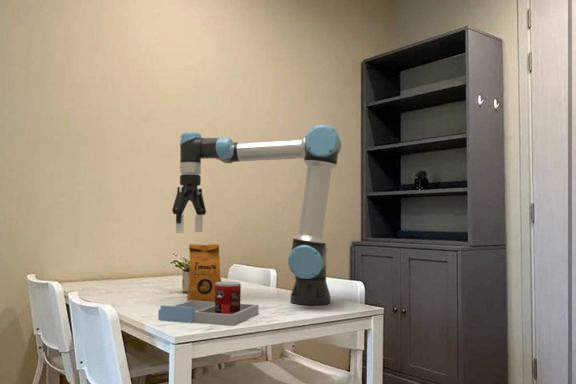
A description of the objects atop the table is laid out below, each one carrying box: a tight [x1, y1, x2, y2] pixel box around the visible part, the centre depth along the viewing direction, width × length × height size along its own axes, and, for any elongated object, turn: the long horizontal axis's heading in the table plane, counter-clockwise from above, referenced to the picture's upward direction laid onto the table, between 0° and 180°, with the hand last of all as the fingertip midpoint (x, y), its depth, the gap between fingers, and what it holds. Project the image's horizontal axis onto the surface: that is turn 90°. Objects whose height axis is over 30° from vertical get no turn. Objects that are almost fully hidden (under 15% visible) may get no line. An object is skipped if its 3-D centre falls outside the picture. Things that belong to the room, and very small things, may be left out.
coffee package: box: [186, 243, 222, 302], centre depth 186 cm, size 10×12×22 cm
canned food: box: [215, 280, 242, 314], centre depth 163 cm, size 8×8×11 cm
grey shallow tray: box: [157, 300, 259, 327], centre depth 164 cm, size 25×21×4 cm
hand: (189, 232), depth 191 cm, fingers open, 13 cm apart
